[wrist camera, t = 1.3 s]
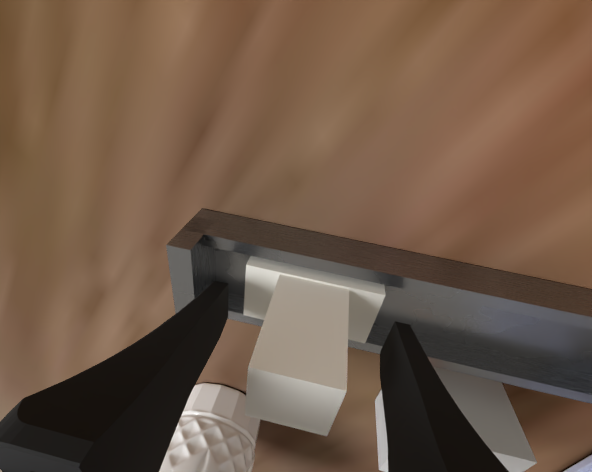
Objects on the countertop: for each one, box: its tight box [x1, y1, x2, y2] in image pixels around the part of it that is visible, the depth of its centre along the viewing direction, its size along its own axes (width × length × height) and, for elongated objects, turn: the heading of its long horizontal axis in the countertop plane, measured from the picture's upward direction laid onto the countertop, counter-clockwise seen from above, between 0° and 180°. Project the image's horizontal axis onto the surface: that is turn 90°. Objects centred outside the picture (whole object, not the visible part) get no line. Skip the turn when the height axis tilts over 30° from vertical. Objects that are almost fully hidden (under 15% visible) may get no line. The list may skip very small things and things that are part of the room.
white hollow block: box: [375, 367, 537, 472], centre depth 17 cm, size 6×5×4 cm
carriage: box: [243, 256, 386, 436], centre depth 12 cm, size 6×3×6 cm, turn 82°
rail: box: [166, 209, 592, 404], centre depth 13 cm, size 22×5×3 cm, turn 82°
